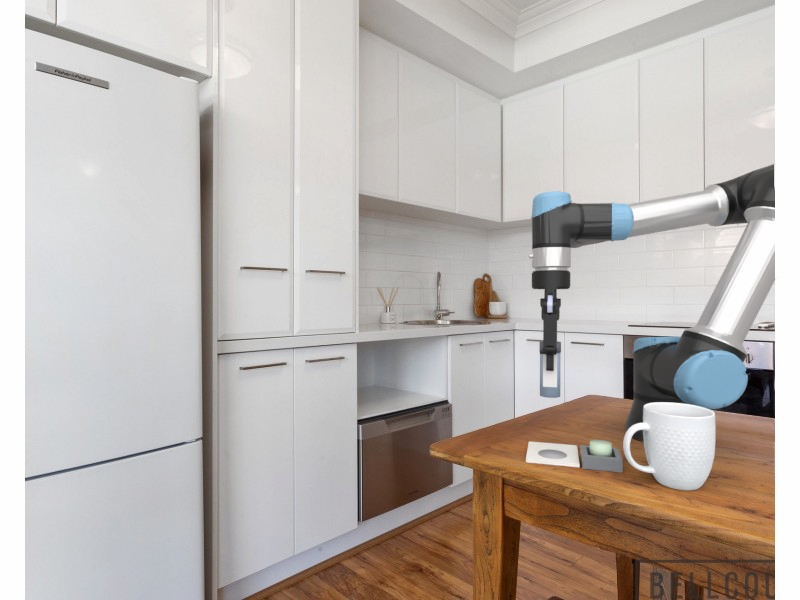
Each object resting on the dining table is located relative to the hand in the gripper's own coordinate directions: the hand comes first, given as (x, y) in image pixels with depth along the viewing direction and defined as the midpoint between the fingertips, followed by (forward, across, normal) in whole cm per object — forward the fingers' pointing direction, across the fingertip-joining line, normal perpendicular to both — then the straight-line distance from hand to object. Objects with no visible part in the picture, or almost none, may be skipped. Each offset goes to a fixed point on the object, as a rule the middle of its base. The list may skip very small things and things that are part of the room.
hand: (550, 384), depth 99 cm
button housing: (+15, +2, +10) cm, 18 cm away
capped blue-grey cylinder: (+2, 0, 0) cm, 2 cm away
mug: (+15, +8, +21) cm, 27 cm away
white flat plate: (+15, -1, 0) cm, 15 cm away
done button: (+13, +2, +9) cm, 16 cm away
